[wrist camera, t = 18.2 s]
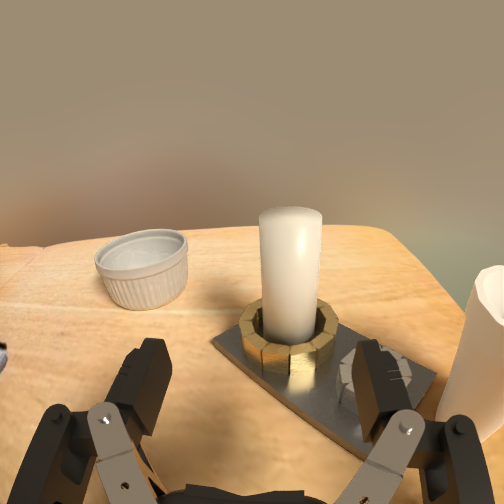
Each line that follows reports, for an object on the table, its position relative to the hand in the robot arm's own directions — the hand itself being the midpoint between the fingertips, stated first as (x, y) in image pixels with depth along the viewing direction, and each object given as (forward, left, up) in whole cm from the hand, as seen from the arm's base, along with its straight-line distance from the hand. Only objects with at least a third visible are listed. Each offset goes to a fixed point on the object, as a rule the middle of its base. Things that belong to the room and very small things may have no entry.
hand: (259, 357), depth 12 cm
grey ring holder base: (-5, +11, -13) cm, 18 cm away
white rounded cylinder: (-9, +11, -12) cm, 19 cm away
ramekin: (-31, +5, -14) cm, 34 cm away
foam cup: (+10, +14, -14) cm, 22 cm away
